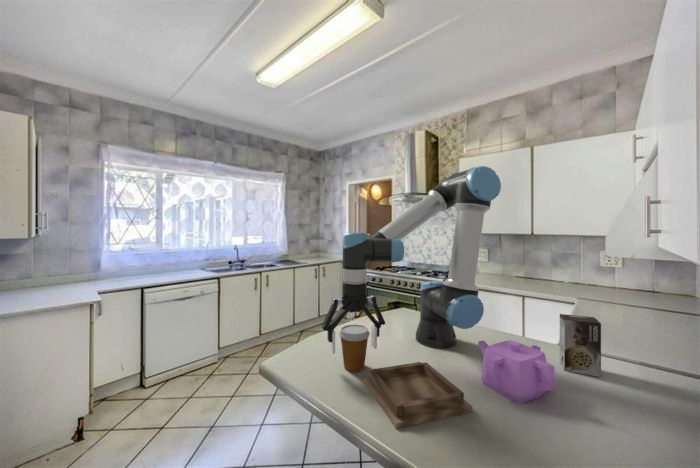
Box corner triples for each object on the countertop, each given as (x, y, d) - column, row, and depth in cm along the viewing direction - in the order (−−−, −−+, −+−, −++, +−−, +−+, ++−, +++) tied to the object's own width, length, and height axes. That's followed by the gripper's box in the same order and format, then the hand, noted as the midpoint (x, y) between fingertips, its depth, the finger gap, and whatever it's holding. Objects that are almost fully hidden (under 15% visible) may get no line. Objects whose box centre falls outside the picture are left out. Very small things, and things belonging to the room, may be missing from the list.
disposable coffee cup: (367, 376, 84) (367, 335, 84) (335, 372, 86) (335, 333, 85) (371, 361, 93) (371, 325, 93) (342, 358, 95) (342, 323, 95)
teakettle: (485, 399, 73) (486, 351, 73) (476, 368, 89) (477, 328, 89) (563, 411, 68) (564, 360, 68) (538, 376, 84) (539, 334, 84)
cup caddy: (425, 371, 87) (425, 359, 87) (472, 411, 68) (472, 396, 68) (364, 381, 81) (364, 368, 81) (396, 428, 62) (396, 412, 62)
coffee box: (593, 368, 89) (594, 316, 89) (601, 377, 83) (602, 323, 83) (558, 362, 93) (559, 313, 93) (563, 371, 87) (564, 318, 87)
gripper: (386, 278, 96) (385, 340, 97) (312, 281, 89) (312, 349, 89) (396, 282, 89) (395, 349, 89) (317, 286, 82) (316, 359, 82)
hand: (353, 349), depth 89 cm, fingers open, 13 cm apart
